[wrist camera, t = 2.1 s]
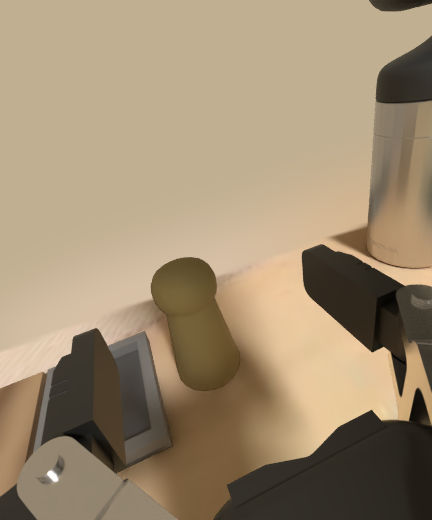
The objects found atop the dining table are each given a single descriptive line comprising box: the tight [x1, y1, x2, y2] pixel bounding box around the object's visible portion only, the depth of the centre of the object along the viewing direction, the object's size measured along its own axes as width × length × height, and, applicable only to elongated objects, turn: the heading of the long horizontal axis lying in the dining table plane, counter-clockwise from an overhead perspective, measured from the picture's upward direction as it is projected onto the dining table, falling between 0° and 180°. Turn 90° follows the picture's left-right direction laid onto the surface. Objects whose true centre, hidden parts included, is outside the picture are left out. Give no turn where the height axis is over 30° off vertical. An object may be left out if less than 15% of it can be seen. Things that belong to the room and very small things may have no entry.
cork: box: [151, 257, 240, 391], centre depth 26 cm, size 6×6×11 cm
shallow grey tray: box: [33, 331, 172, 473], centre depth 26 cm, size 10×12×2 cm
